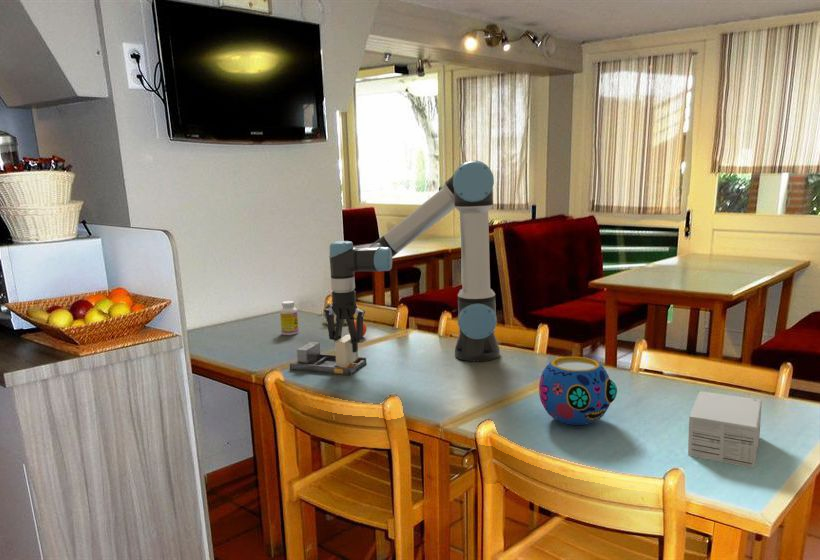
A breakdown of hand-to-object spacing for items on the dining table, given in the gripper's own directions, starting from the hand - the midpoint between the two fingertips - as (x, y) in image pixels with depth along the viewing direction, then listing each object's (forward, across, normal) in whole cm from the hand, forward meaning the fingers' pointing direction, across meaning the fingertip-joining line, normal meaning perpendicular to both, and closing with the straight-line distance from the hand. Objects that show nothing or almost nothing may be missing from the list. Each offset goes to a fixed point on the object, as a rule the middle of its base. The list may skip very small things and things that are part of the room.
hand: (347, 360), depth 202 cm
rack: (+3, +7, 0) cm, 7 cm away
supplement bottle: (+3, +42, -34) cm, 54 cm away
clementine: (+3, +13, -35) cm, 37 cm away
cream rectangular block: (0, 0, 0) cm, 0 cm away
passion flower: (+3, +31, -54) cm, 62 cm away
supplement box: (+3, -107, +28) cm, 111 cm away
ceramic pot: (+3, -74, +23) cm, 78 cm away
